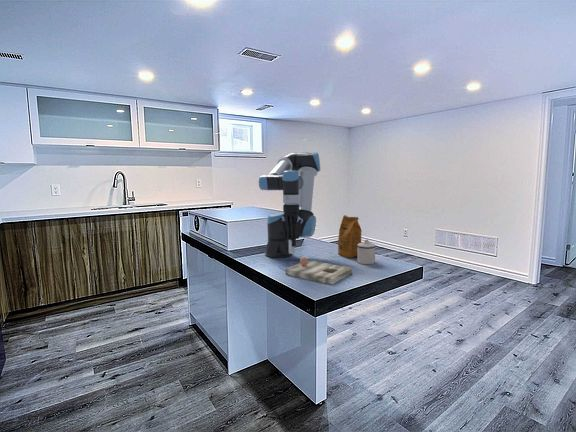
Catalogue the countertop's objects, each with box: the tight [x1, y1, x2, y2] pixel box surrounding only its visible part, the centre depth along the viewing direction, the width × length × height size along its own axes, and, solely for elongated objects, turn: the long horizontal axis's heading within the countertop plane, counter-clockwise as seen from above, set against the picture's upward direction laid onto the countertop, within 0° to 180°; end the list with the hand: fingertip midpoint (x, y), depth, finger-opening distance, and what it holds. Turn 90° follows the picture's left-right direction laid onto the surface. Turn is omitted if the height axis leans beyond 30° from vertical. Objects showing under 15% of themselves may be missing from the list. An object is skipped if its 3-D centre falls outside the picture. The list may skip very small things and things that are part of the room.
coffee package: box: [337, 214, 362, 259], centre depth 174 cm, size 10×12×22 cm
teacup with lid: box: [356, 239, 377, 265], centre depth 162 cm, size 12×9×12 cm
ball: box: [299, 256, 309, 266], centre depth 148 cm, size 4×4×4 cm
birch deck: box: [285, 259, 353, 285], centre depth 144 cm, size 24×18×2 cm
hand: (291, 252), depth 152 cm, fingers closed
